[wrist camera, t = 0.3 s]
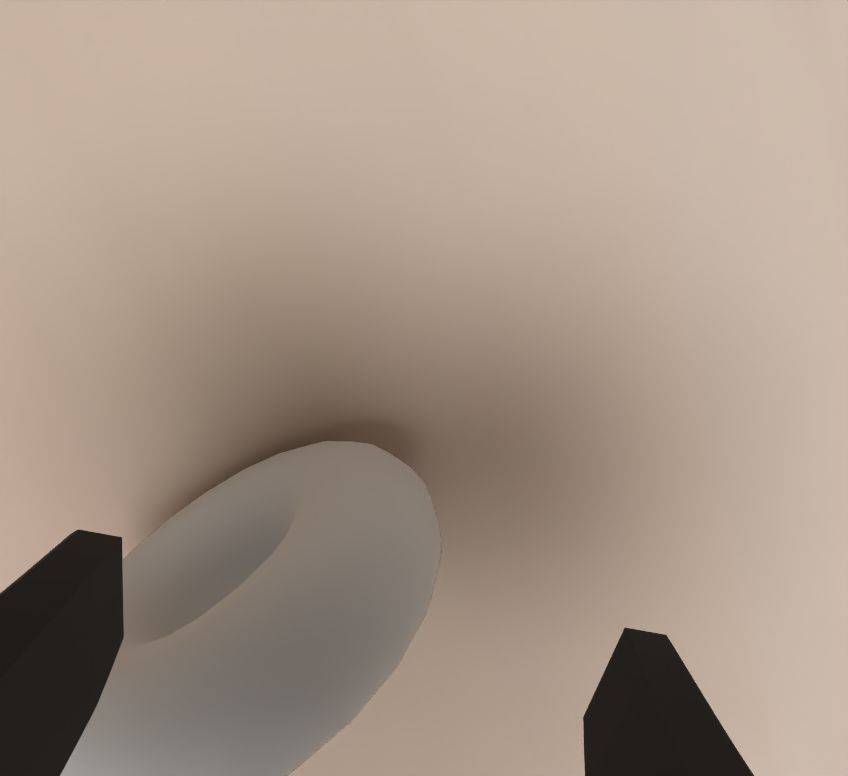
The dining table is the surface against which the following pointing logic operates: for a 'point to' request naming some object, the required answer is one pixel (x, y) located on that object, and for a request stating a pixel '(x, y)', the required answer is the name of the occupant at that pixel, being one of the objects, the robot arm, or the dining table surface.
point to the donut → (265, 616)
